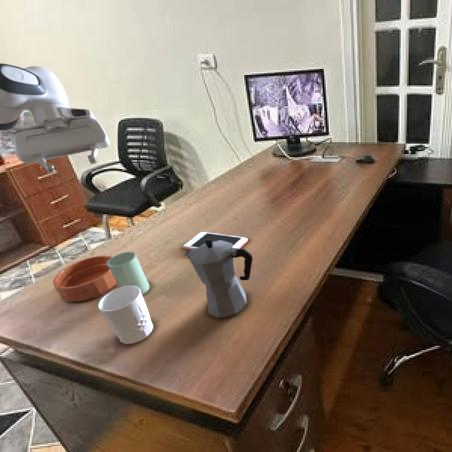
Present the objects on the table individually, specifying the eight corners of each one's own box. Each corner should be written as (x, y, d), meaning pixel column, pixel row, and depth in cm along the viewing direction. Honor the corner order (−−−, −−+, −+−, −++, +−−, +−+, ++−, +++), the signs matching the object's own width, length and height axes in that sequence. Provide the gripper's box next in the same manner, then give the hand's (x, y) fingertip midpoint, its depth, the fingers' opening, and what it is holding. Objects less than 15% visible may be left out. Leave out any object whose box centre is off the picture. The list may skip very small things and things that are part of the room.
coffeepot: (192, 318, 80) (167, 252, 71) (210, 291, 88) (189, 229, 79) (257, 320, 77) (239, 252, 68) (269, 291, 85) (255, 228, 77)
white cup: (115, 352, 73) (95, 316, 68) (118, 327, 79) (100, 293, 74) (156, 337, 75) (139, 302, 70) (156, 315, 81) (141, 281, 77)
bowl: (76, 311, 85) (66, 295, 83) (53, 292, 93) (44, 277, 90) (132, 279, 95) (125, 264, 93) (107, 264, 103) (100, 250, 100)
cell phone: (202, 233, 114) (201, 231, 113) (248, 240, 108) (248, 237, 107) (183, 248, 107) (182, 245, 106) (231, 256, 101) (231, 253, 100)
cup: (130, 302, 87) (114, 269, 82) (118, 293, 90) (102, 261, 85) (154, 287, 91) (141, 255, 86) (141, 280, 94) (127, 248, 89)
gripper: (1, 123, 85) (17, 171, 83) (96, 108, 95) (113, 151, 92) (13, 138, 91) (29, 183, 88) (102, 122, 100) (118, 163, 98)
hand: (72, 167), depth 90 cm, fingers open, 8 cm apart
